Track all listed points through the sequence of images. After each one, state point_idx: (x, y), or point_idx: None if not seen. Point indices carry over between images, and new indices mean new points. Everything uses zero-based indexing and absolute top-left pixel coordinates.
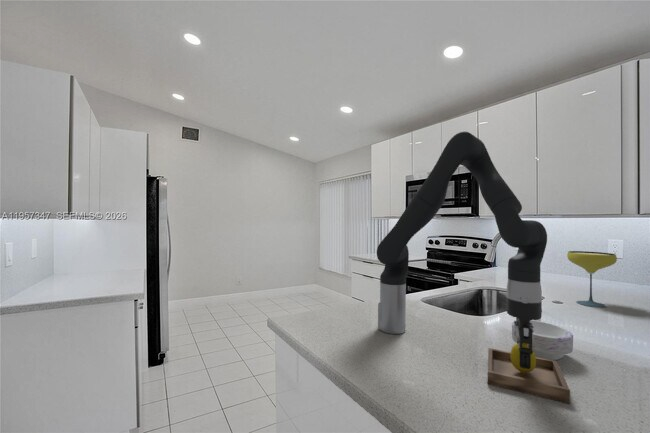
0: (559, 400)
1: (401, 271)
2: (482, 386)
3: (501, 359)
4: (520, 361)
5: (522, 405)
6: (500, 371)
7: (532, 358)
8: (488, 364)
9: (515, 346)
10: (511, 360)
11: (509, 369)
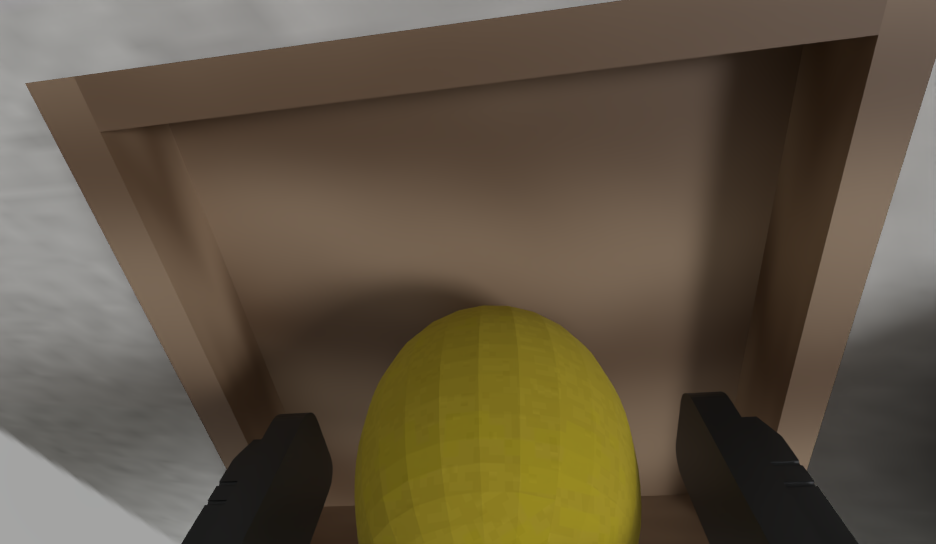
0: None
1: None
2: (48, 32)
3: (756, 150)
4: (252, 463)
5: (65, 320)
6: (406, 170)
7: None
8: (249, 61)
9: (436, 533)
10: (445, 326)
11: (514, 241)
